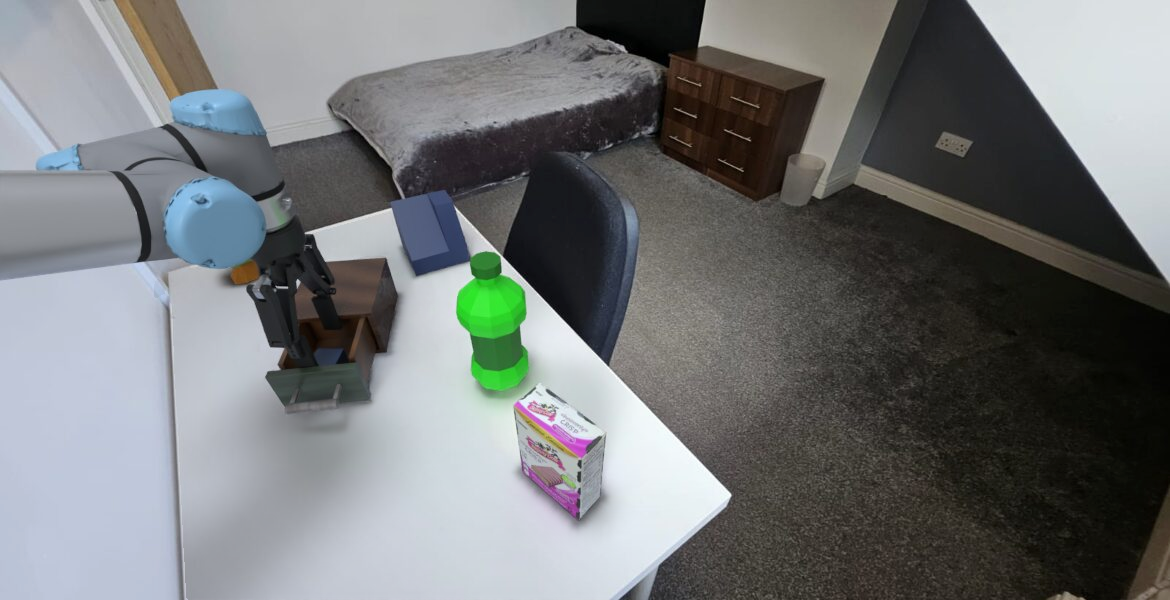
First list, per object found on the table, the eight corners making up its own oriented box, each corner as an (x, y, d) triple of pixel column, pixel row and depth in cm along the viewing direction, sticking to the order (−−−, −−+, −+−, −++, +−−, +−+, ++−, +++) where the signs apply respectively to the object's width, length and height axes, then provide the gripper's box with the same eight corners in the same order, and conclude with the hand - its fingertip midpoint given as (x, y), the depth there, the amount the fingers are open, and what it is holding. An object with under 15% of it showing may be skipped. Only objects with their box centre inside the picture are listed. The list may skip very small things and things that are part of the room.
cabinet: (386, 352, 84) (371, 312, 78) (304, 360, 83) (282, 320, 76) (398, 296, 96) (386, 257, 90) (327, 302, 94) (309, 262, 88)
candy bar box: (519, 473, 67) (510, 404, 57) (544, 449, 70) (539, 379, 60) (578, 524, 62) (580, 459, 51) (602, 497, 65) (608, 429, 54)
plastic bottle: (524, 406, 76) (512, 288, 60) (462, 396, 77) (433, 277, 61) (539, 360, 84) (532, 244, 67) (482, 352, 85) (461, 236, 68)
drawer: (365, 422, 72) (349, 390, 67) (277, 433, 70) (254, 401, 65) (384, 336, 86) (372, 303, 81) (311, 343, 84) (294, 310, 79)
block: (315, 385, 76) (306, 368, 73) (326, 365, 79) (317, 348, 76) (341, 385, 76) (333, 368, 73) (351, 365, 79) (343, 348, 76)
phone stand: (416, 276, 101) (403, 228, 93) (403, 247, 109) (389, 201, 101) (469, 260, 106) (461, 214, 98) (453, 234, 114) (444, 189, 106)
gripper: (249, 269, 52) (316, 400, 66) (329, 186, 69) (369, 305, 83) (180, 267, 52) (262, 399, 66) (277, 184, 68) (326, 304, 83)
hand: (321, 347), depth 75 cm, fingers open, 8 cm apart
